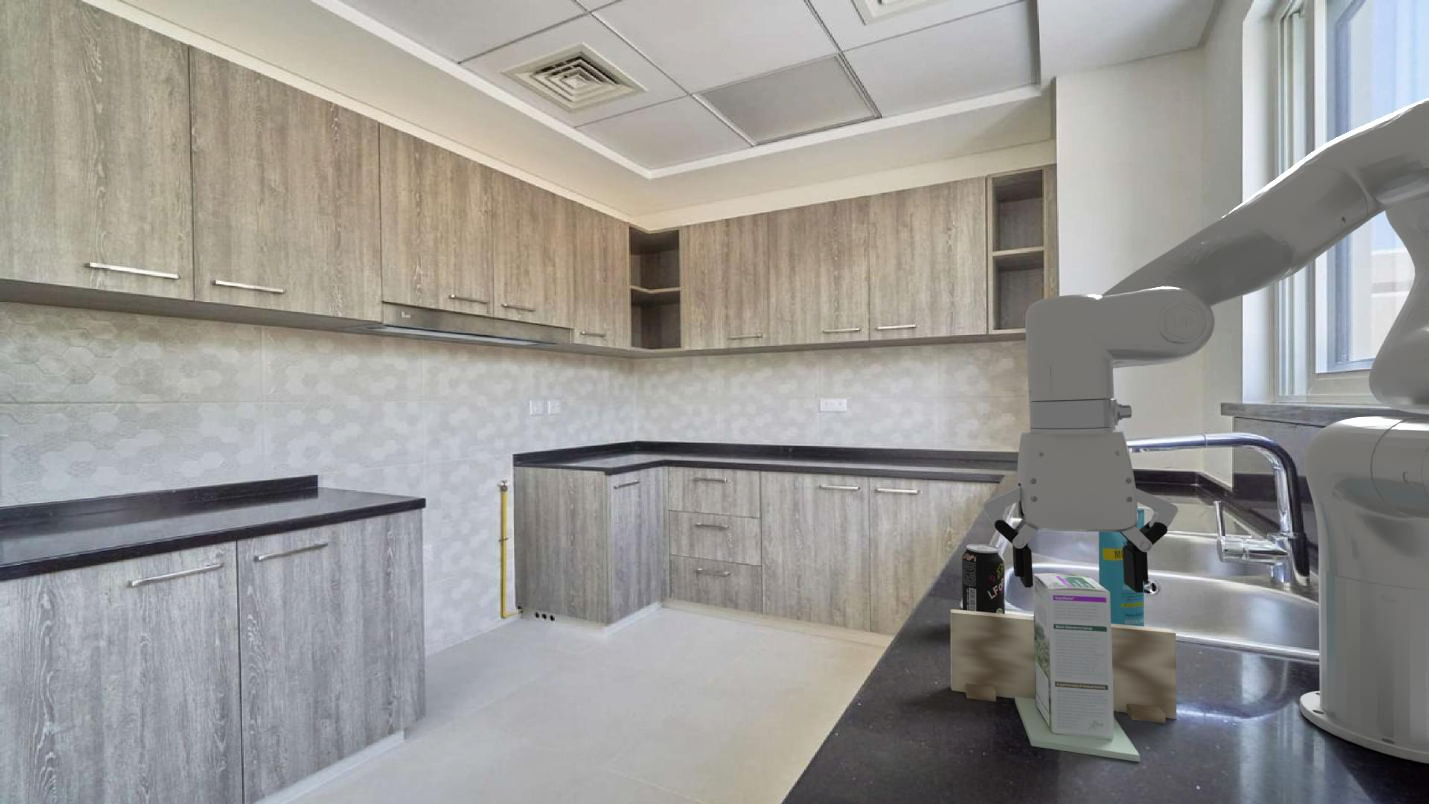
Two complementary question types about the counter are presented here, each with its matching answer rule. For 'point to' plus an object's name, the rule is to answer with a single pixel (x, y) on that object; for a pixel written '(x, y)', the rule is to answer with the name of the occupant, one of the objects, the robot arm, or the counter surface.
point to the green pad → (1093, 746)
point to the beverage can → (983, 579)
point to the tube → (1119, 578)
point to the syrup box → (1073, 655)
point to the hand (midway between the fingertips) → (1078, 586)
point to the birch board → (1003, 662)
